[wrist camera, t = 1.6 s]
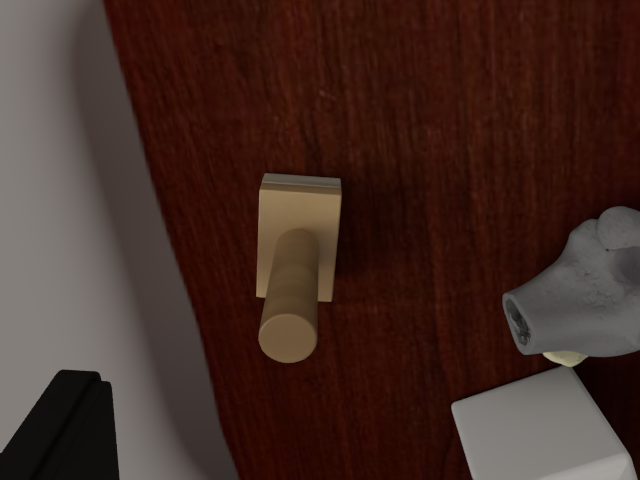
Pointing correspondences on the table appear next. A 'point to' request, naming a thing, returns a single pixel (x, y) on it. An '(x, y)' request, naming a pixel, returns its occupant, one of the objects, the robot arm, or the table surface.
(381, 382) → the table surface
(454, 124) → the table surface
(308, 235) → the wooden stamp
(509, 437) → the container
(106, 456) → the robot arm
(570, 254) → the knee model
